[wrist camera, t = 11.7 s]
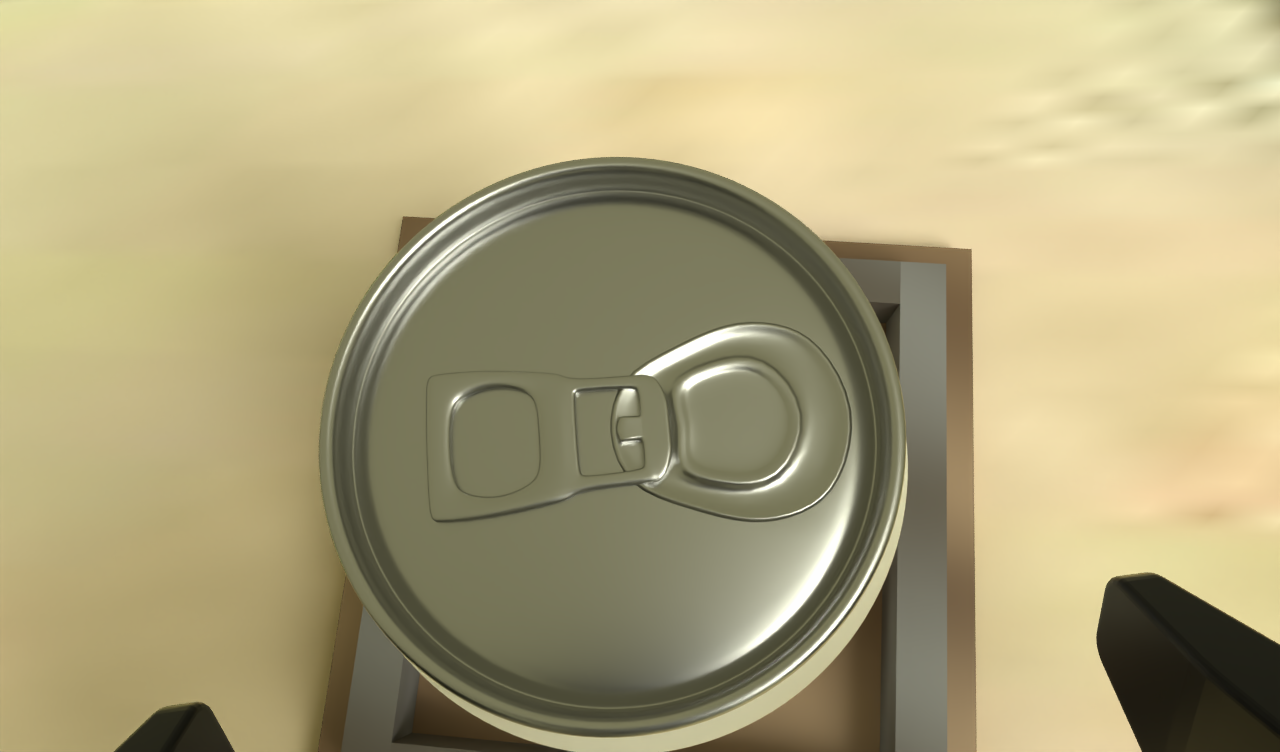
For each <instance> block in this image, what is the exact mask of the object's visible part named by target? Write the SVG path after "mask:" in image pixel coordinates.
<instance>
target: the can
mask: <svg viewBox="0 0 1280 752" xmlns="http://www.w3.org/2000/svg"><path fill="white" fill-rule="evenodd" d="M319 473H320V484H321V492H322V498H323V504H324V509H325V514H326V518H327V523H328V526H329V530H330V533H331V537H332V540H333V543H334V546H335V549H336V551H337V554H338V556H339V559H340V562H341V564H342V566H343V568H344V571H345V573H346V575H347V577H348V579H349V581H350V583H351V585H352V587H353V589H354V590H355V592H356V594H357V596H358V597H359V599H360V601H361V602H362V604H363V605H364V607H365V609H366V610H367V612H368V613H369V615H370V616H371V617H372V619H373V620H374V621H375V623H376V624H377V626H378V627H379V628H380V629H381V630H382V632H383V633H384V634H385V635H386V637H387V638H388V639H389V640H390V641H391V642H392V643H393V644H394V646H395V647H396V648H397V649H398V650H399V651H400V652H401V653H402V654H403V655H404V656H405V658H406V659H407V660H408V661H409V662H410V663H411V664H412V665H413V666H414V668H415V669H416V670H417V671H418V672H419V673H420V674H421V675H422V676H423V677H424V678H425V679H427V680H428V681H429V682H430V683H431V684H432V685H433V686H434V687H435V688H437V689H438V690H439V691H440V692H442V693H443V694H444V695H445V696H447V697H448V698H449V699H451V700H452V701H453V702H455V703H456V704H457V705H459V706H460V707H462V708H463V709H465V710H466V711H468V712H469V713H471V714H473V715H474V716H476V717H478V718H480V719H481V720H483V721H485V722H487V723H489V724H491V725H493V726H495V727H497V728H499V729H501V730H503V731H506V732H508V733H510V734H512V735H515V736H518V737H520V738H523V739H526V740H529V741H532V742H535V743H538V744H541V745H545V746H549V747H553V748H557V749H562V750H567V751H573V752H666V751H672V750H677V749H682V748H686V747H691V746H694V745H698V744H701V743H705V742H708V741H711V740H714V739H717V738H719V737H722V736H725V735H727V734H730V733H732V732H734V731H737V730H739V729H741V728H743V727H745V726H747V725H749V724H751V723H753V722H755V721H757V720H759V719H761V718H762V717H764V716H766V715H767V714H769V713H771V712H772V711H774V710H775V709H777V708H778V707H780V706H782V705H783V704H785V703H786V702H787V701H789V700H790V699H791V698H793V697H794V696H795V695H797V694H798V693H799V692H800V691H802V690H803V689H804V688H805V687H807V686H808V685H809V684H810V683H811V682H812V681H813V680H814V679H815V678H817V677H818V676H819V675H820V674H821V673H822V672H823V671H824V670H825V669H826V668H827V667H828V666H829V665H830V664H831V663H832V661H833V660H834V659H835V658H836V657H837V656H838V655H839V654H840V652H841V651H842V650H843V649H844V647H845V646H846V645H847V644H848V642H849V641H850V640H851V638H852V637H853V636H854V634H855V633H856V631H857V630H858V629H859V627H860V626H861V624H862V622H863V621H864V619H865V618H866V616H867V614H868V613H869V611H870V609H871V607H872V606H873V604H874V602H875V600H876V598H877V596H878V594H879V592H880V590H881V588H882V586H883V583H884V581H885V579H886V576H887V574H888V571H889V569H890V566H891V563H892V560H893V557H894V554H895V551H896V548H897V544H898V540H899V537H900V532H901V528H902V523H903V517H904V511H905V504H906V495H907V481H908V457H907V442H906V423H905V411H904V404H903V397H902V391H901V386H900V381H899V377H898V373H897V369H896V365H895V362H894V358H893V355H892V352H891V349H890V346H889V344H888V341H887V338H886V336H885V334H884V331H883V329H882V326H881V324H880V322H879V320H878V318H877V316H876V314H875V312H874V310H873V308H872V306H871V304H870V303H869V301H868V299H867V298H866V296H865V294H864V293H863V291H862V289H861V288H860V286H859V285H858V283H857V282H856V280H855V279H854V278H853V276H852V275H851V273H850V272H849V271H848V269H847V268H846V267H845V266H844V264H843V263H842V262H841V261H840V259H839V258H838V257H837V256H836V255H835V254H834V253H833V252H832V250H831V249H830V248H829V247H828V246H827V245H826V244H825V243H824V242H823V241H822V240H821V239H820V238H819V237H818V236H817V235H816V234H815V233H813V232H812V231H811V230H810V229H809V228H808V227H807V226H805V225H804V224H803V223H802V222H801V221H800V220H798V219H797V218H796V217H794V216H793V215H792V214H790V213H789V212H788V211H786V210H785V209H783V208H782V207H780V206H779V205H777V204H776V203H774V202H773V201H771V200H769V199H768V198H766V197H764V196H763V195H761V194H759V193H757V192H755V191H754V190H752V189H750V188H748V187H746V186H744V185H741V184H739V183H737V182H735V181H732V180H730V179H728V178H725V177H722V176H720V175H717V174H714V173H711V172H708V171H705V170H702V169H698V168H695V167H691V166H687V165H683V164H679V163H673V162H668V161H662V160H655V159H646V158H632V157H601V158H588V159H580V160H572V161H566V162H561V163H556V164H551V165H547V166H543V167H539V168H535V169H532V170H529V171H526V172H523V173H520V174H517V175H514V176H511V177H509V178H506V179H504V180H501V181H499V182H497V183H495V184H492V185H490V186H488V187H486V188H484V189H482V190H480V191H478V192H476V193H474V194H472V195H471V196H469V197H467V198H466V199H464V200H462V201H460V202H459V203H457V204H456V205H454V206H453V207H451V208H450V209H448V210H447V211H445V212H444V213H442V214H441V215H440V216H438V217H437V218H436V219H434V220H433V221H432V222H431V223H429V224H428V225H427V226H426V227H424V228H423V229H422V230H421V231H420V232H419V233H417V234H416V235H415V236H414V237H413V238H412V239H411V240H410V241H409V242H408V243H407V244H406V245H405V246H404V247H403V248H402V249H401V250H400V251H399V252H398V253H397V254H396V255H395V256H394V258H393V259H392V260H391V261H390V262H389V263H388V265H387V266H386V267H385V268H384V269H383V271H382V272H381V273H380V274H379V276H378V277H377V278H376V280H375V281H374V282H373V284H372V285H371V287H370V288H369V290H368V291H367V293H366V294H365V296H364V298H363V299H362V301H361V302H360V304H359V306H358V308H357V309H356V311H355V313H354V315H353V317H352V318H351V321H350V323H349V325H348V327H347V329H346V331H345V333H344V335H343V338H342V340H341V342H340V345H339V347H338V350H337V353H336V355H335V358H334V361H333V364H332V367H331V371H330V374H329V378H328V382H327V386H326V390H325V395H324V400H323V406H322V413H321V420H320V432H319Z"/></svg>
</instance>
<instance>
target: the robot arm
mask: <svg viewBox="0 0 1280 752" xmlns="http://www.w3.org/2000/svg"><path fill="white" fill-rule="evenodd" d="M1096 638H1097V648H1098V652H1099V656H1100V659H1101V661H1102V664H1103V666H1104V668H1105V670H1106V672H1107V675H1108V677H1109V679H1110V681H1111V684H1112V686H1113V688H1114V690H1115V693H1116V695H1117V697H1118V699H1119V701H1120V704H1121V706H1122V708H1123V710H1124V713H1125V715H1126V717H1127V719H1128V722H1129V724H1130V726H1131V728H1132V730H1133V733H1134V735H1135V737H1136V739H1137V742H1138V744H1139V746H1140V748H1141V751H1142V752H1280V644H1278V643H1276V642H1275V641H1273V640H1271V639H1269V638H1268V637H1266V636H1264V635H1263V634H1261V633H1259V632H1257V631H1256V630H1254V629H1252V628H1250V627H1249V626H1247V625H1245V624H1244V623H1242V622H1240V621H1238V620H1237V619H1235V618H1233V617H1231V616H1230V615H1228V614H1226V613H1225V612H1223V611H1221V610H1219V609H1218V608H1216V607H1214V606H1212V605H1211V604H1209V603H1207V602H1205V601H1204V600H1202V599H1200V598H1199V597H1197V596H1195V595H1193V594H1192V593H1190V592H1188V591H1186V590H1185V589H1183V588H1181V587H1180V586H1178V585H1176V584H1174V583H1173V582H1171V581H1169V580H1167V579H1166V578H1164V577H1162V576H1160V575H1158V574H1155V573H1138V574H1131V575H1124V576H1116V577H1114V578H1112V579H1111V580H1110V581H1109V582H1108V583H1107V585H1106V588H1105V593H1104V598H1103V603H1102V608H1101V614H1100V619H1099V624H1098V629H1097V637H1096ZM114 752H234V750H233V748H232V746H231V744H230V742H229V741H228V739H227V737H226V735H225V733H224V732H223V730H222V728H221V726H220V725H219V723H218V721H217V719H216V717H215V716H214V714H213V712H212V710H211V709H210V708H209V706H207V705H205V704H204V703H201V702H194V703H187V704H179V705H172V706H167V707H164V708H161V709H160V710H158V711H156V712H155V713H154V714H153V715H152V716H151V717H149V718H148V719H147V720H146V721H145V722H144V723H143V724H142V725H141V726H140V727H139V728H138V729H137V730H136V731H135V732H134V733H133V734H132V735H131V736H130V737H129V738H128V739H127V740H125V741H124V742H123V743H122V744H121V745H120V746H119V747H118V748H117V749H116V750H115V751H114Z"/></svg>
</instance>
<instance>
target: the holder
mask: <svg viewBox="0 0 1280 752" xmlns="http://www.w3.org/2000/svg"><path fill="white" fill-rule="evenodd" d="M434 219H436V218H419V217H403V220H402V227H401V233H400V239H399V245H398V252H399V251H400V250H401V249H402V248H403V247H404V246H405V245H406V244H407V243H408V242H409V241H410V240H411V239H412V238H413V237H414V236H415V235H416V234H417V233H419V232H420V231H421V230H422V229H423V228H424V227H426V226H427V225H428V224H429V223H431V222H432V221H433V220H434ZM823 242H824V243H825V244H826V245H827V246H828V247H829V248H830V249H831V250H832V252H833V253H834V254H835V255H836V256H837V257H838V258H839V259H840V261H841V262H842V263H843V264H844V266H845V267H846V268H847V269H848V271H849V272H850V273H851V275H852V276H853V278H854V279H855V280H856V282H857V283H858V285H859V286H860V288H861V289H862V291H863V293H864V294H865V296H866V298H867V299H868V301H869V303H870V304H871V306H872V308H873V310H874V312H875V314H876V316H877V318H878V320H879V322H880V324H881V326H882V329H883V331H884V334H885V336H886V338H887V341H888V344H889V346H890V349H891V352H892V355H893V358H894V362H895V365H896V369H897V373H898V377H899V381H900V386H901V391H902V397H903V404H904V411H905V423H906V442H907V457H908V481H907V495H906V504H905V511H904V517H903V523H902V528H901V532H900V537H899V540H898V544H897V548H896V551H895V554H894V557H893V560H892V563H891V566H890V569H889V571H888V574H887V576H886V579H885V581H884V583H883V586H882V588H881V590H880V592H879V594H878V596H877V598H876V600H875V602H874V604H873V606H872V607H871V609H870V611H869V613H868V614H867V616H866V618H865V619H864V621H863V622H862V624H861V626H860V627H859V629H858V630H857V631H856V633H855V634H854V636H853V637H852V638H851V640H850V641H849V642H848V644H847V645H846V646H845V647H844V649H843V650H842V651H841V652H840V654H839V655H838V656H837V657H836V658H835V659H834V660H833V661H832V663H831V664H830V665H829V666H828V667H827V668H826V669H825V670H824V671H823V672H822V673H821V674H820V675H819V676H818V677H817V678H815V679H814V680H813V681H812V682H811V683H810V684H809V685H808V686H807V687H805V688H804V689H803V690H802V691H800V692H799V693H798V694H797V695H795V696H794V697H793V698H791V699H790V700H789V701H787V702H786V703H785V704H783V705H782V706H780V707H778V708H777V709H775V710H774V711H772V712H771V713H769V714H767V715H766V716H764V717H762V718H761V719H759V720H757V721H755V722H753V723H751V724H749V725H747V726H745V727H743V728H741V729H739V730H737V731H734V732H732V733H730V734H727V735H725V736H722V737H719V738H717V739H714V740H711V741H708V742H705V743H701V744H698V745H694V746H691V747H686V748H682V749H677V750H672V751H666V752H976V652H975V552H974V452H973V351H972V251H971V249H958V248H940V247H923V246H906V245H888V244H871V243H853V242H836V241H823ZM398 252H397V253H398ZM318 752H573V751H567V750H562V749H557V748H553V747H549V746H545V745H541V744H538V743H535V742H532V741H529V740H526V739H523V738H520V737H518V736H515V735H512V734H510V733H508V732H506V731H503V730H501V729H499V728H497V727H495V726H493V725H491V724H489V723H487V722H485V721H483V720H481V719H480V718H478V717H476V716H474V715H473V714H471V713H469V712H468V711H466V710H465V709H463V708H462V707H460V706H459V705H457V704H456V703H455V702H453V701H452V700H451V699H449V698H448V697H447V696H445V695H444V694H443V693H442V692H440V691H439V690H438V689H437V688H435V687H434V686H433V685H432V684H431V683H430V682H429V681H428V680H427V679H425V678H424V677H423V676H422V675H421V674H420V673H419V672H418V671H417V670H416V669H415V668H414V666H413V665H412V664H411V663H410V662H409V661H408V660H407V659H406V658H405V656H404V655H403V654H402V653H401V652H400V651H399V650H398V649H397V648H396V647H395V646H394V644H393V643H392V642H391V641H390V640H389V639H388V638H387V637H386V635H385V634H384V633H383V632H382V630H381V629H380V628H379V627H378V626H377V624H376V623H375V621H374V620H373V619H372V617H371V616H370V615H369V613H368V612H367V610H366V609H365V607H364V605H363V604H362V602H361V601H360V599H359V597H358V596H357V594H356V592H355V590H354V589H353V587H352V585H351V583H350V581H349V579H348V577H347V575H346V578H345V584H344V591H343V597H342V603H341V609H340V616H339V622H338V628H337V634H336V641H335V647H334V653H333V660H332V666H331V672H330V678H329V685H328V691H327V697H326V703H325V710H324V716H323V722H322V729H321V735H320V741H319V747H318Z"/></svg>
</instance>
